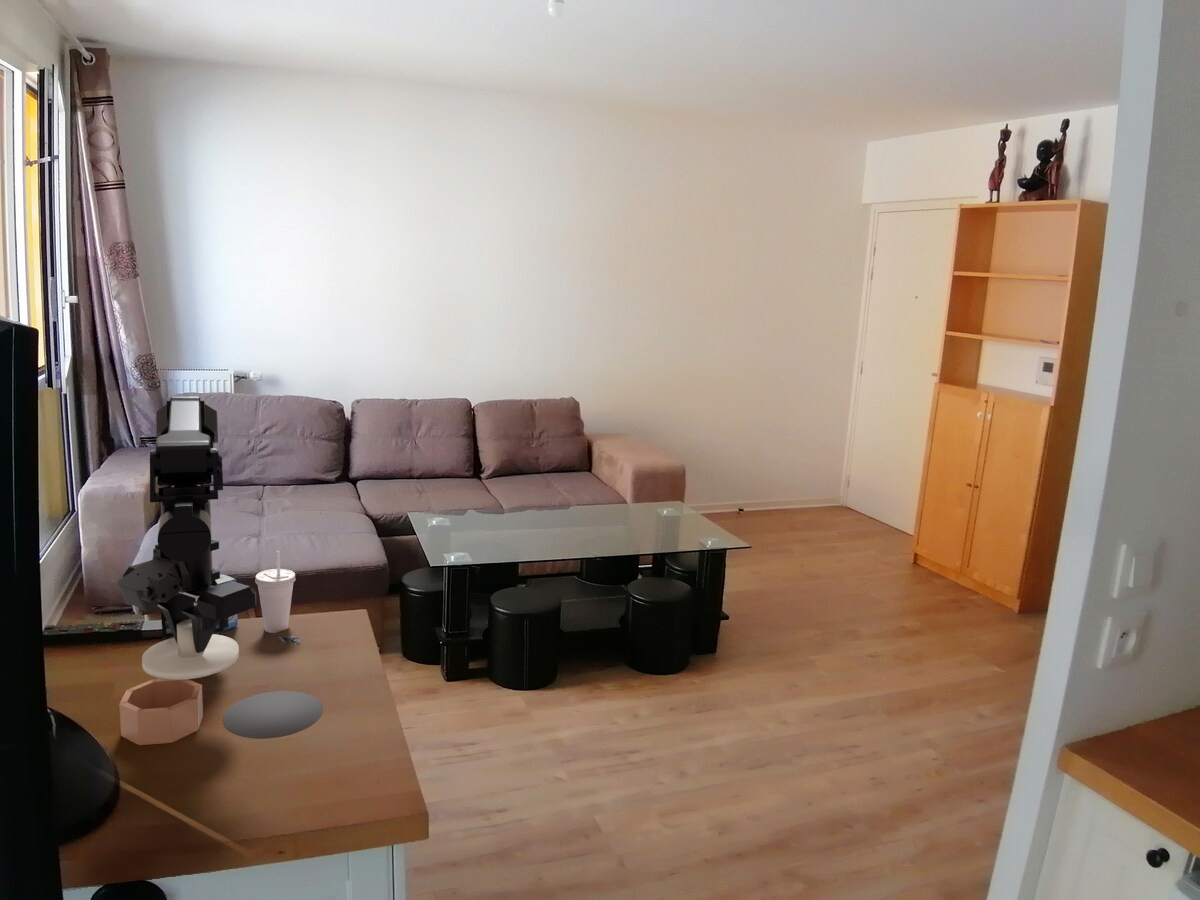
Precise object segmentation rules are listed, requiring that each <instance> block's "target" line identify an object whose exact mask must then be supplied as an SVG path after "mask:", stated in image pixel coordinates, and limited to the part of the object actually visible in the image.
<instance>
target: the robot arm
mask: <svg viewBox="0 0 1200 900" xmlns="http://www.w3.org/2000/svg"><path fill="white" fill-rule="evenodd" d="M218 424H219V423H218V411H217V410H215V409H214V408H212V407H211V406H209V405H208V404H206V403H205V397H201V396H200V395H171V396H170V397H166V404H165V405H164V406H163V407H161V408H159V409H158V410H156V412H155V436H156V442H155V449H150V450H149V503H160V519H159V526H158V532H157V544H155V545H154V548H153V550H152V555H153V556H152V559H151V560H148V561H147V560H146V561H145V562H141V563H138V564H134V565H131V566H130V565H129V566H128V568H127V569H126V570H125V572H124V573H123V574H122V578H120V579H119V580H118V582H117V585H118V589H120V592H121V594H122V596H123V598H124V600H125V602H126V604H127V605H128V606H134V607H137V608H140V610H142V611H152V610H153V609H155V608H156V607H159V608H160V620H161V632H162V633H161V634H162V635H161V636H162V639H167V638H175V640H176V643H177V624H178V623H179V622H181V621H184V620H188V619H191V623H192V631H193V639H194V646H195V650H196V652H197V653H200V652H203V651H204V650H205V649H206V647H207V645H208V643H209V641H210V639H211V637H212V635H213V634H216V632H220V633H224V632H225V631H224V629H225V628H227V627H229V626H228V617H231V616H233V615H236V614H237V615H238V614H241V613H243V612H247V611H249V610H251V609H253V608H256V607H257V591H256V590H255V589H254V588H253V587H251V586H250V585H246V584H243V583H240V582H234V581H230V582H227V583H224V584H221V585H218V586H217V582H216V581H215V580H217V579H220V574H221V571H220V570H217V569H214V568H213V551H216V550H220V542H219V541H218V540H215V539H213V538H212V516H211V514H212V513H211V512H212V511H211V500H219V491H223V490H224V482H223V481H224V479H223V478H224V477H223V457H222V455H221V454H219V450H218V449H217V448H216V447H214V444H219V435H218V434H219V430H218V429H219V425H218ZM212 480H213V481H212ZM211 484H212V485H213V486H212V487H213V489H211V486H210V485H211ZM157 486H159V488H158V492H157ZM216 635H217V634H216ZM177 645H178V644H177Z"/></svg>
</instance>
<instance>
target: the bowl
mask: <svg viewBox="0 0 1200 900" xmlns="http://www.w3.org/2000/svg"><path fill="white" fill-rule="evenodd" d="M118 705H119V706H118V707H119V724H120V726H119V727H120V737H123V738H124V739H126V740H128V741H130V742H131V743H134V744H136V745H138V746H145V745H159V744H169V743H171V744H173V743H174V742H177V741H178V740H180V739H183V738H184V737H186V736H189V735H190V734H193V733H194V732H195V733H196V732H198V731H199V728H200V725H201V724H202V720H203V717H204V709H203V708H204V706H203V705H204V703H203V684H200V683H198V682H195V681H193V680H191V679H184V680H170V679H161V678H153V679H149V680H148V681H145V682H142V683H140V684H138V685H136V686H133V687H131V688H128V689H126V691H125V692H124V695H123V696H122V698H121V700H120V702H119V704H118Z"/></svg>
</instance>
